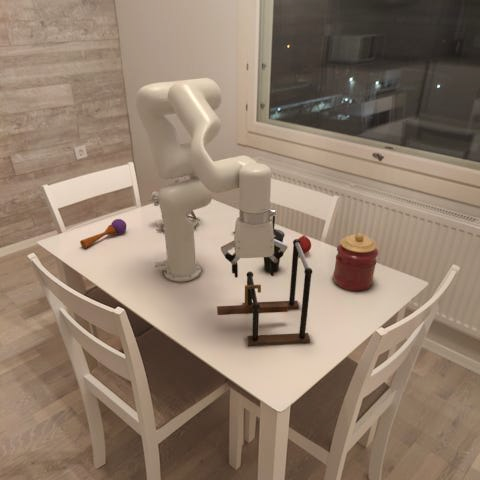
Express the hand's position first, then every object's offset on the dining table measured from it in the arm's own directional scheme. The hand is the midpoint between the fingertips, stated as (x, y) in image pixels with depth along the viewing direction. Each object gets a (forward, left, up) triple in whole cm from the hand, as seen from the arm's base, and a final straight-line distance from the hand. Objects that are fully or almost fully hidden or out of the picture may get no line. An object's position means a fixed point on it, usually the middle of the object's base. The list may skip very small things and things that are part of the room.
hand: (253, 274), depth 120 cm
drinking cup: (+10, +31, -17) cm, 37 cm away
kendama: (-52, +59, -17) cm, 81 cm away
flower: (-24, +67, -17) cm, 74 cm away
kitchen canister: (+36, +21, -17) cm, 45 cm away
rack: (+6, 0, -17) cm, 18 cm away
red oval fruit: (+23, +41, -17) cm, 50 cm away
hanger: (0, 0, -12) cm, 12 cm away
